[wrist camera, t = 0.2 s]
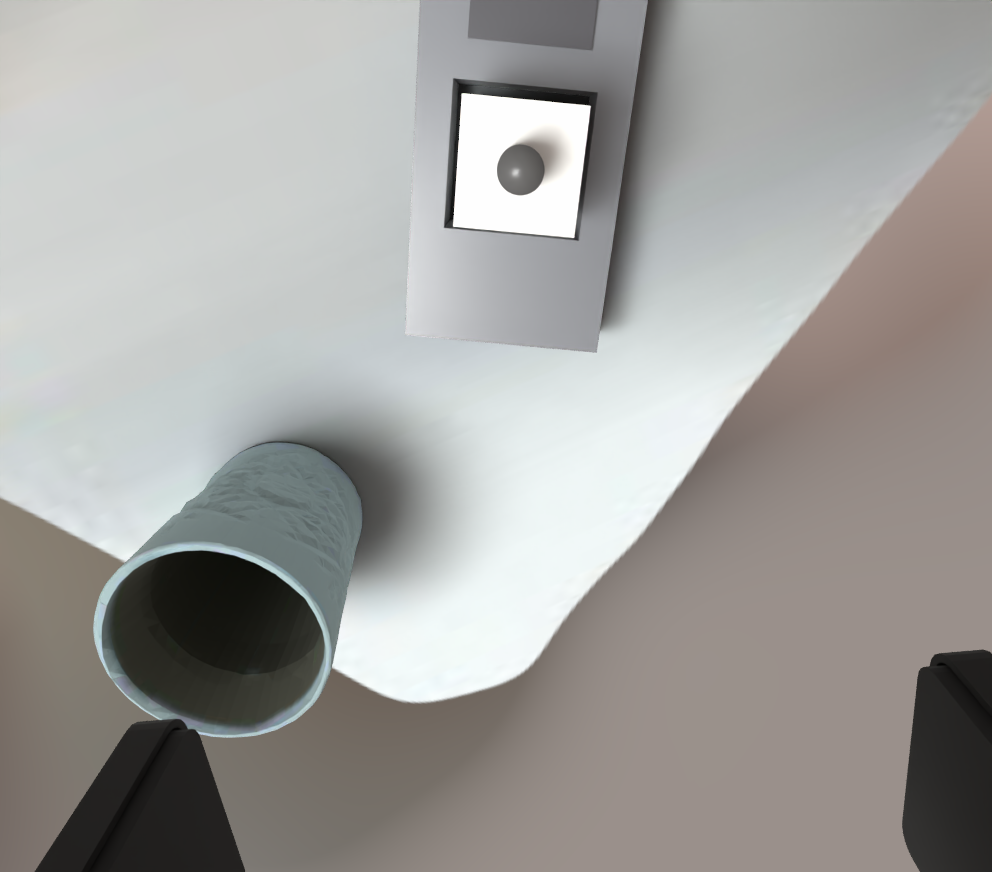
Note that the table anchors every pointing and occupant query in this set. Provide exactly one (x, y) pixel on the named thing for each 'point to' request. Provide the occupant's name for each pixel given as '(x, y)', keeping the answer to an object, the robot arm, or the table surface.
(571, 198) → the charger
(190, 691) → the blue-grey tapered cup
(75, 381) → the table surface
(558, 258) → the power strip
